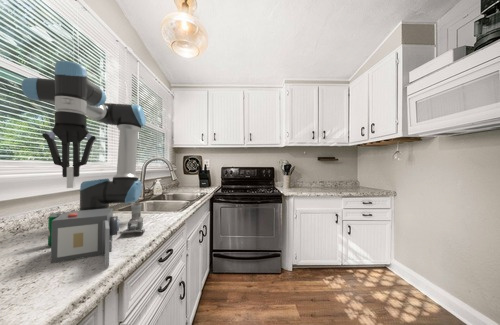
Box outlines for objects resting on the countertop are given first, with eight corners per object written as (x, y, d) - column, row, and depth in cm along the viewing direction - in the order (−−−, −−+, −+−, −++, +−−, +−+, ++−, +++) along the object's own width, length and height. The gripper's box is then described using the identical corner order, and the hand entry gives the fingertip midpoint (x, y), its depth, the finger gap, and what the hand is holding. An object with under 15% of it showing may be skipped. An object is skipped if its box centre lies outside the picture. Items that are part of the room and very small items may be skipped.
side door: (102, 267, 57) (103, 229, 57) (102, 253, 66) (102, 220, 67) (111, 265, 58) (111, 228, 59) (109, 252, 68) (110, 219, 68)
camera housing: (66, 247, 73) (67, 209, 73) (119, 239, 81) (120, 205, 81) (50, 263, 61) (51, 218, 61) (115, 252, 68) (115, 212, 69)
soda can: (51, 243, 77) (52, 212, 77) (68, 241, 79) (69, 210, 79) (44, 248, 72) (45, 215, 73) (62, 245, 74) (63, 213, 75)
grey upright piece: (147, 202, 99) (143, 208, 85) (147, 226, 99) (143, 236, 85) (127, 203, 96) (119, 210, 82) (126, 228, 96) (119, 239, 82)
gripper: (37, 107, 56) (37, 190, 56) (94, 113, 63) (94, 187, 63) (47, 113, 63) (47, 187, 63) (98, 117, 69) (98, 185, 69)
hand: (71, 187), depth 63 cm, fingers closed
